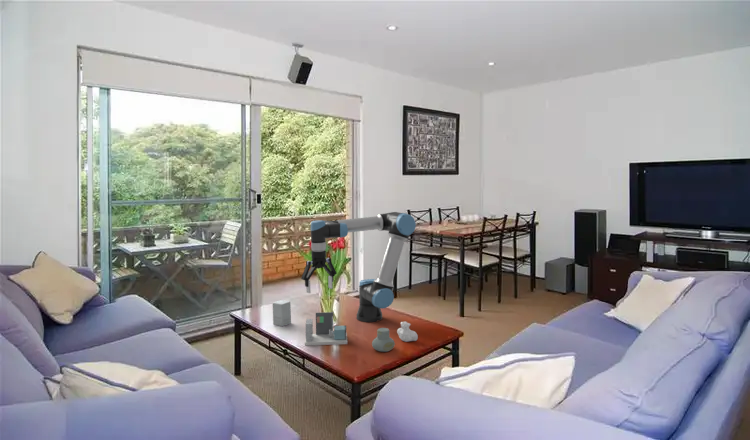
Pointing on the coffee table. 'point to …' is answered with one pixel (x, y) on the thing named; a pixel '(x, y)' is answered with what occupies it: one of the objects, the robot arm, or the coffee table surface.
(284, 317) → the supplement box
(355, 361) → the coffee table surface
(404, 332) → the duck figurine
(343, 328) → the block
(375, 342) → the air freshener
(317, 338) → the gauge stand
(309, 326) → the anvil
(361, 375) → the coffee table surface
